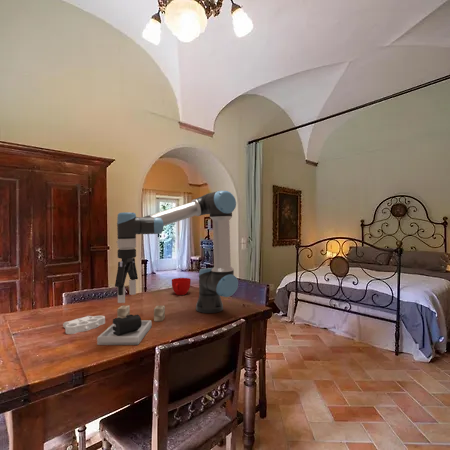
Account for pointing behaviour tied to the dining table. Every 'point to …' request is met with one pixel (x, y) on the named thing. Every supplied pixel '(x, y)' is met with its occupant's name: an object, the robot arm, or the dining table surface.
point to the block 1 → (123, 311)
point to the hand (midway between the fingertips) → (127, 298)
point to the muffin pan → (83, 324)
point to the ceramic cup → (181, 285)
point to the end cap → (126, 324)
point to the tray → (124, 335)
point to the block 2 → (159, 313)
